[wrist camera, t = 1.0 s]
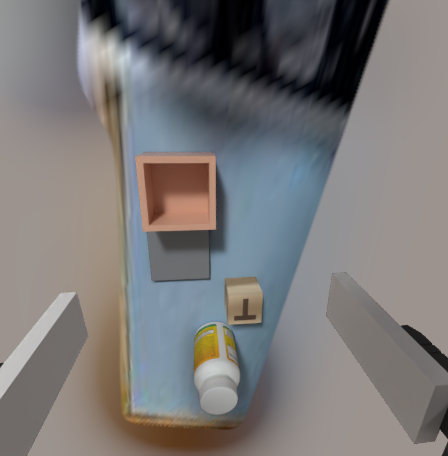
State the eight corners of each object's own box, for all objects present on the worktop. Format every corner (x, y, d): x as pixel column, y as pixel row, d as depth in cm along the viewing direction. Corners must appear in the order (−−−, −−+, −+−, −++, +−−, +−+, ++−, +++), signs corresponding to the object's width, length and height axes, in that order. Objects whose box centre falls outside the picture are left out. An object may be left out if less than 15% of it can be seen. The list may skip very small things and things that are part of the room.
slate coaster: (147, 224, 31) (146, 226, 30) (208, 223, 31) (208, 224, 31) (152, 278, 33) (151, 280, 32) (209, 275, 34) (209, 278, 33)
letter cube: (224, 277, 34) (228, 296, 30) (255, 276, 35) (263, 294, 31) (224, 305, 36) (228, 326, 32) (254, 303, 36) (261, 323, 32)
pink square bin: (145, 152, 28) (135, 156, 23) (212, 152, 29) (215, 156, 24) (150, 216, 30) (143, 231, 26) (212, 214, 31) (215, 229, 26)
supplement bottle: (237, 323, 37) (252, 386, 28) (226, 353, 38) (236, 422, 29) (199, 316, 36) (201, 379, 27) (189, 347, 37) (188, 416, 28)
